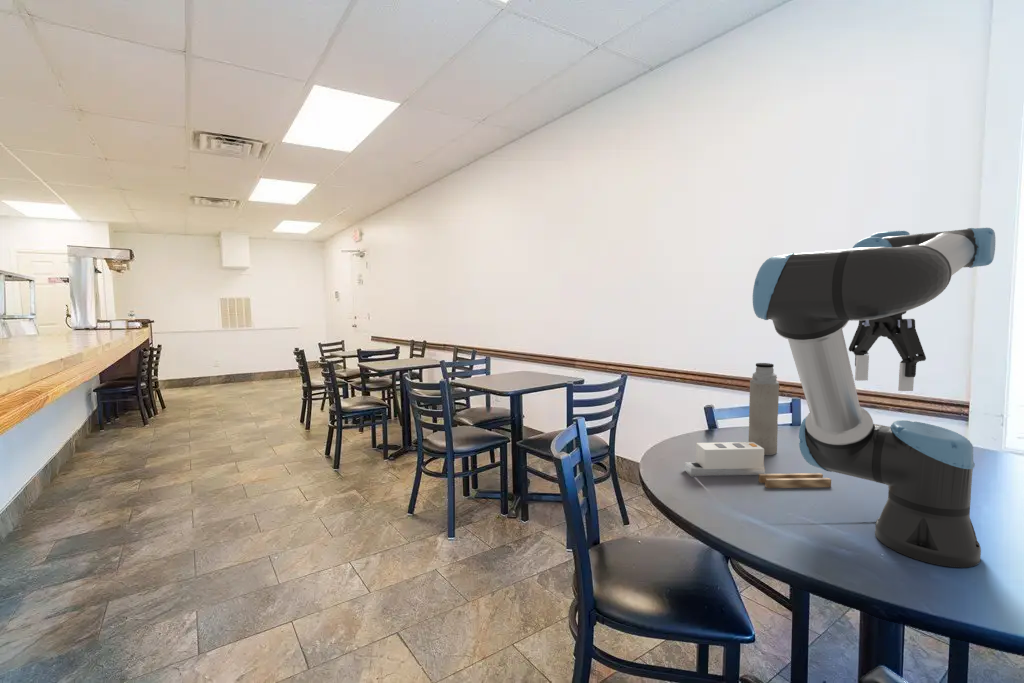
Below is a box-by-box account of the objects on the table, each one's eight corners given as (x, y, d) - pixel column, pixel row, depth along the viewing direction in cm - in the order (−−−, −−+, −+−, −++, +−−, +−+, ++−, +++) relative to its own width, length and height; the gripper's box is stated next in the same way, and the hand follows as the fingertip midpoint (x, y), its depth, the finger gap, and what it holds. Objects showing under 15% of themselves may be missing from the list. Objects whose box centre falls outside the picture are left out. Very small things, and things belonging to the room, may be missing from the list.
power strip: (752, 467, 129) (753, 441, 129) (763, 475, 123) (764, 448, 123) (695, 468, 130) (696, 442, 129) (704, 476, 124) (704, 448, 123)
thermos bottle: (768, 446, 148) (770, 361, 145) (782, 454, 140) (785, 365, 137) (743, 446, 148) (745, 362, 146) (756, 455, 140) (758, 365, 138)
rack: (820, 481, 119) (820, 473, 119) (830, 488, 115) (831, 479, 115) (758, 482, 120) (758, 473, 119) (767, 489, 115) (767, 480, 115)
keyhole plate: (764, 475, 124) (765, 467, 124) (691, 476, 124) (691, 468, 124) (755, 469, 129) (756, 461, 129) (684, 470, 129) (684, 462, 129)
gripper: (951, 296, 96) (945, 395, 98) (863, 297, 121) (859, 376, 123) (915, 297, 96) (910, 396, 98) (834, 298, 121) (831, 376, 123)
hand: (882, 385), depth 110 cm, fingers open, 13 cm apart
